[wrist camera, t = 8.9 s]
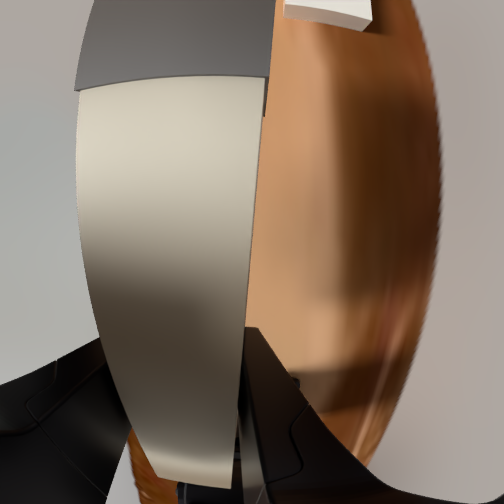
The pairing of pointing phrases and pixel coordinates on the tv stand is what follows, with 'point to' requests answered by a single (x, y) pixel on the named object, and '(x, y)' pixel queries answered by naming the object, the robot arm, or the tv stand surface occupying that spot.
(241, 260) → the curved white panel
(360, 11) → the tile
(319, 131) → the tv stand surface
